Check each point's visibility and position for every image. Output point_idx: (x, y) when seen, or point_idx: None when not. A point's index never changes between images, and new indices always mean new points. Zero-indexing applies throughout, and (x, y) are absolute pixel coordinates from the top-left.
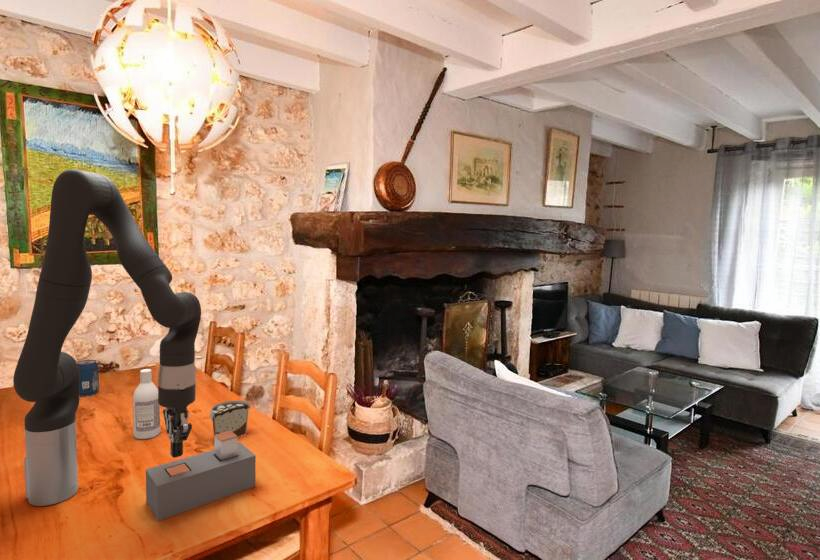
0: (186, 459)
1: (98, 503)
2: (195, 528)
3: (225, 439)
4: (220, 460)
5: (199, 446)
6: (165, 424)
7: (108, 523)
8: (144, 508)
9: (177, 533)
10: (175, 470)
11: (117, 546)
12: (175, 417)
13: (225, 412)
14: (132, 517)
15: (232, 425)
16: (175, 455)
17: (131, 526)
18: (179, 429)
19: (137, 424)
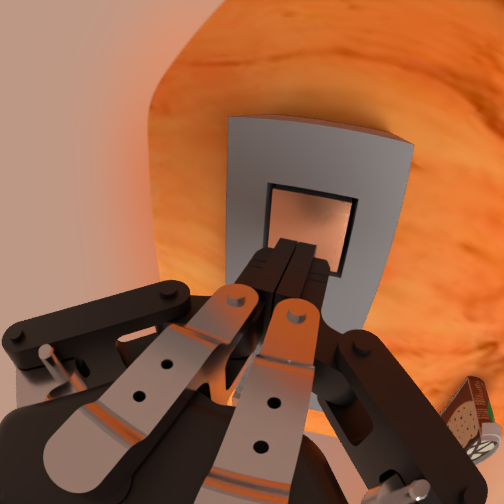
0: (359, 293)
1: (472, 56)
2: (187, 169)
3: (232, 404)
4: (261, 342)
5: (496, 354)
6: (422, 394)
7: (353, 25)
8: (363, 114)
9: (193, 133)
10: (307, 222)
11: (233, 19)
12: (42, 437)
13: (465, 447)
14: (339, 74)
15: (455, 424)
16: (262, 249)
17: (296, 58)
18: (17, 331)
19: None
